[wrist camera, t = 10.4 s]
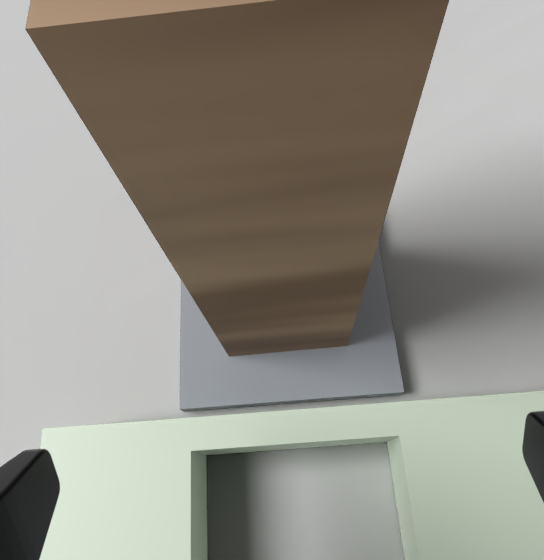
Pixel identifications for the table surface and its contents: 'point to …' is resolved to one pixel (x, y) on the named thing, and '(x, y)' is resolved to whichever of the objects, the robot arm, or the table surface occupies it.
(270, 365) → the grey mat
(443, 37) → the table surface
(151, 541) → the puzzle board
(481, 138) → the table surface
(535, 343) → the table surface
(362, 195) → the walnut block
